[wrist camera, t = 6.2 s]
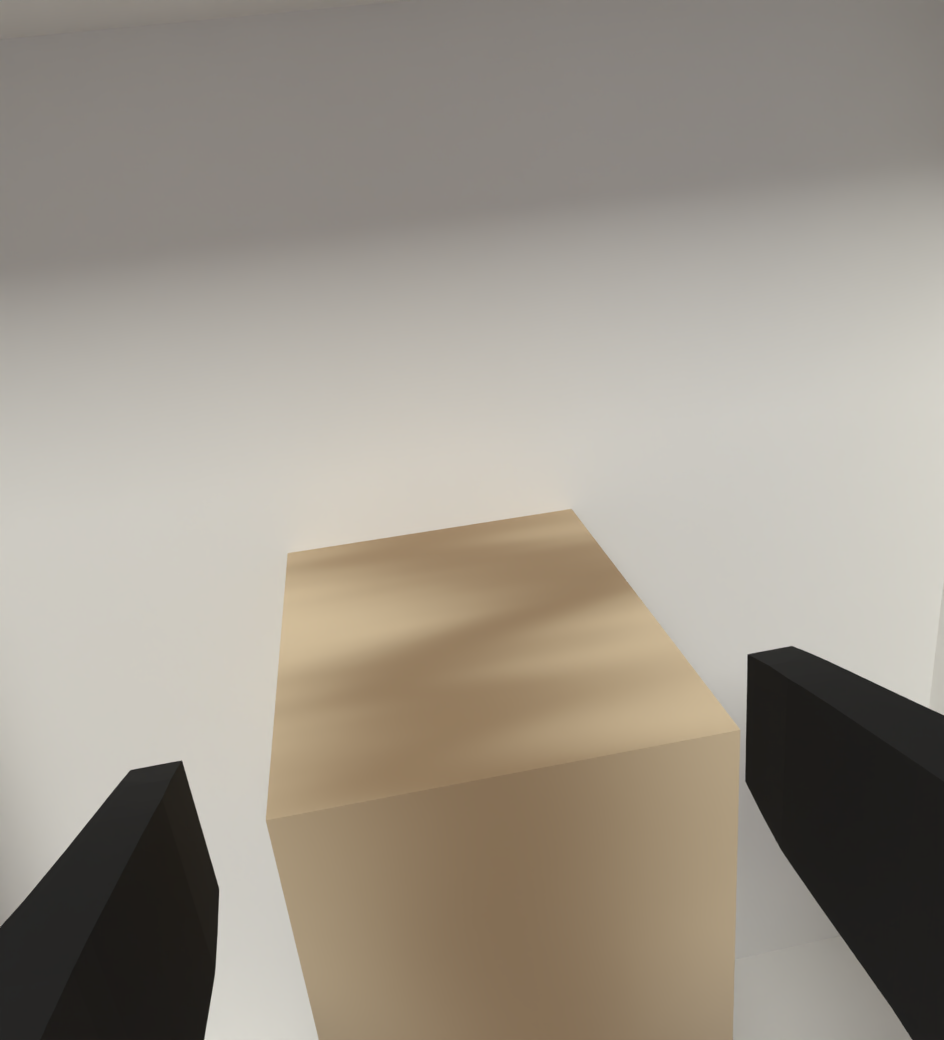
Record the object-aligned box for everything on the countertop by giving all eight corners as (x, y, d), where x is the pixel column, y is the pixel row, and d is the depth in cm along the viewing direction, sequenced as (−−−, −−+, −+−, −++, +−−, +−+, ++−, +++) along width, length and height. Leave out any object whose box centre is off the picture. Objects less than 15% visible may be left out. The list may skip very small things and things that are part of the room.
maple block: (571, 508, 14) (740, 729, 8) (585, 740, 15) (732, 1050, 10) (287, 553, 13) (265, 819, 8) (334, 788, 15) (344, 1143, 9)
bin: (1060, -137, 12) (1447, -301, 8) (924, 923, 20) (1085, 1120, 16) (-533, -4, 10) (-1151, -134, 6) (13, 1133, 17) (-81, 1427, 13)
